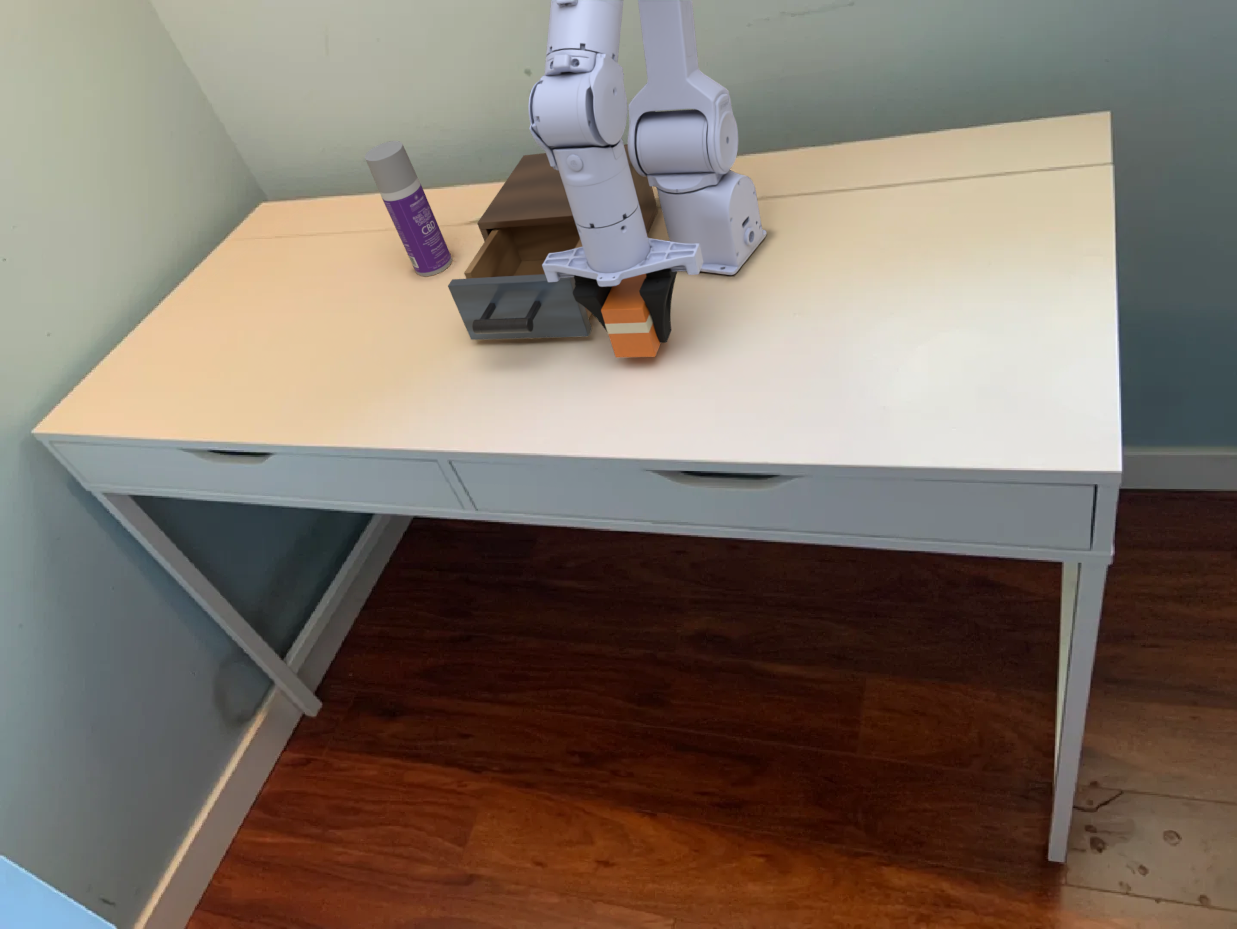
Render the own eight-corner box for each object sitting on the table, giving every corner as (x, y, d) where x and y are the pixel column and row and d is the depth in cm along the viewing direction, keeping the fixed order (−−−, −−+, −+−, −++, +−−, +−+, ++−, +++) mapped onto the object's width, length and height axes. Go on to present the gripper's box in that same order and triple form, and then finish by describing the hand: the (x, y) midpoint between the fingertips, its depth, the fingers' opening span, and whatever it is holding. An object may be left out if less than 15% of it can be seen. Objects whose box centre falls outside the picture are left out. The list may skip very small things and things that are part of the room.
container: (445, 274, 114) (395, 157, 104) (410, 278, 115) (357, 163, 105) (457, 252, 117) (409, 137, 107) (423, 256, 118) (372, 143, 108)
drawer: (576, 363, 93) (555, 305, 88) (455, 365, 98) (430, 311, 93) (625, 259, 104) (609, 203, 100) (515, 266, 109) (495, 213, 105)
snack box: (655, 357, 89) (642, 308, 85) (615, 358, 90) (600, 310, 87) (670, 320, 93) (658, 272, 89) (631, 321, 94) (617, 274, 90)
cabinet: (624, 284, 102) (603, 212, 97) (503, 290, 108) (476, 223, 102) (658, 211, 112) (641, 142, 106) (545, 220, 117) (523, 155, 112)
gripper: (514, 241, 82) (559, 364, 91) (675, 230, 77) (706, 362, 86) (541, 198, 87) (582, 319, 96) (695, 185, 82) (722, 314, 91)
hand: (642, 336), depth 91 cm, fingers closed on snack box, 4 cm apart
